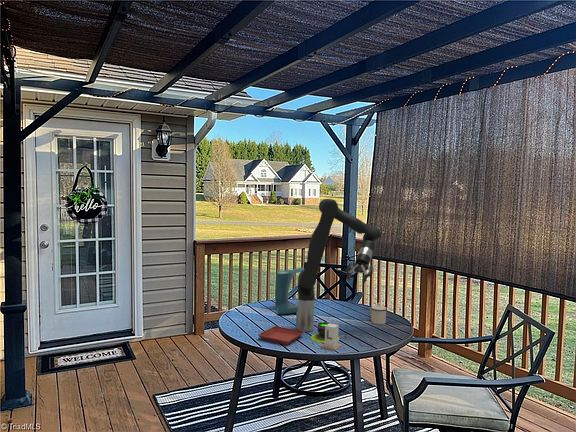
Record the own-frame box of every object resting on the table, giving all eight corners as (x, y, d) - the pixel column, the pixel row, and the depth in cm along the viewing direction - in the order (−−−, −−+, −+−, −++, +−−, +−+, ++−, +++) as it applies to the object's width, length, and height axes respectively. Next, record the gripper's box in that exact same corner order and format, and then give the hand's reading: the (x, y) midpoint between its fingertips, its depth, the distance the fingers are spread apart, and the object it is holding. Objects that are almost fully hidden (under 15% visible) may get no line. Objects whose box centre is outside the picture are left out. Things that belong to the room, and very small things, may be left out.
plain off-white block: (324, 345, 207) (325, 325, 206) (328, 342, 211) (329, 323, 211) (333, 347, 204) (334, 327, 204) (337, 344, 209) (338, 325, 208)
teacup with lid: (389, 323, 251) (389, 304, 251) (378, 325, 246) (379, 306, 246) (375, 318, 261) (375, 300, 261) (364, 320, 256) (364, 301, 256)
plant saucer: (287, 347, 206) (288, 340, 206) (257, 340, 215) (257, 334, 215) (304, 337, 222) (304, 331, 222) (275, 331, 231) (275, 325, 230)
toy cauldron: (345, 338, 221) (345, 318, 221) (327, 345, 210) (328, 323, 210) (322, 332, 231) (323, 312, 231) (305, 338, 220) (305, 317, 220)
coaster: (320, 347, 206) (320, 345, 206) (327, 342, 213) (327, 341, 213) (335, 350, 202) (335, 349, 202) (341, 346, 209) (341, 344, 209)
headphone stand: (315, 307, 284) (314, 266, 285) (311, 316, 257) (310, 271, 257) (277, 307, 288) (276, 267, 288) (270, 316, 260) (268, 272, 261)
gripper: (350, 251, 232) (341, 275, 223) (375, 254, 225) (366, 278, 215) (353, 260, 237) (345, 283, 227) (378, 262, 229) (370, 286, 220)
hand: (355, 280), depth 221 cm, fingers open, 8 cm apart
